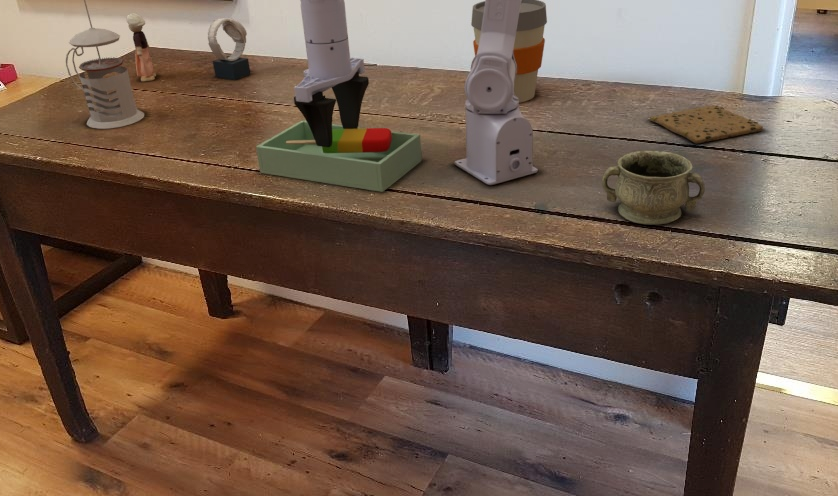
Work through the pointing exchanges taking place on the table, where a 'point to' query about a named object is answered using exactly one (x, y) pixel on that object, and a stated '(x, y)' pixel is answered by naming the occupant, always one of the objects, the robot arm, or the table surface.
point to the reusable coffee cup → (521, 44)
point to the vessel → (652, 186)
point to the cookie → (706, 123)
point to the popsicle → (355, 140)
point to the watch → (233, 64)
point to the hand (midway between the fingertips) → (337, 137)
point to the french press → (104, 82)
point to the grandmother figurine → (141, 48)
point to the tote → (338, 160)
